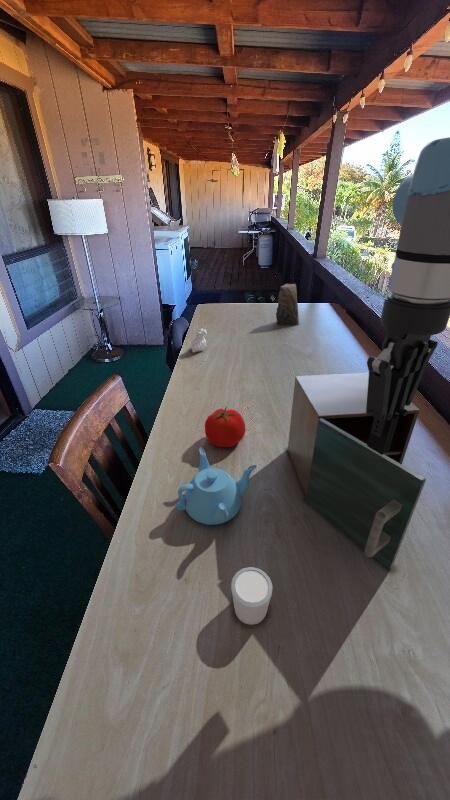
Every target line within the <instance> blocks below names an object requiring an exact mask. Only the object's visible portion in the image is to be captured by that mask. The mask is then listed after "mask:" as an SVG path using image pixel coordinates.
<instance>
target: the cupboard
mask: <svg viewBox="0 0 450 800" xmlns="http://www.w3.org/2000/svg"><path fill="white" fill-rule="evenodd" d="M368 379H369V371H368V372H351V373H350V372H349V373H331V374H311V375H310V374H309V375H295V377H294V385H293V394H292V404H291V415H290V422H289V433H288V442H287V451H288V454H289V457H290V459H291V463H292V465H293V467H294V469H295V472H296V475H297V477H298V479H299V482H300V485H301V487H302V490H303V493H304V495H305V498H306V497H307V491H308V484H309V478H310V471H311V465H312V458H313V452H314V445H315V439H316V433H317V426H318V420H319V419H321V418H322V419H324V420H326V421H328V422H329V423H331V424H333V425H334V426H336V427H338V428H340V429H341V430H343V431H345V432H346V433H348V434H350V435H352V436H353V437H355V438H357V439H358V440H360V441H362V442H364V443H365V444H368V440H369V436H370V432H371V428H372V424H373V420H374V416H372V415H370V414H368V413H366V406H367V393H368ZM404 409H405V410H408V411H409V412H408V414H407V415H406V416H403V415H401V414H398V415H399V418H398V421H397V425H396V428H395V432H394V435H393V438H392V442H391V445H390V448H389V451H388V452H385V454H384V455H386V456H388V457H389V458H391V459H393V460H395V461H396V462H398V463H400V464H401V465H403V462H404V459H405V457H406V452H407V451H408V447H409V444H410V441H411V438H412V436H413V433H414V432H413V431H414V428H415V425H416V423H417V419H418V416H419V413H420V412H421V411H420V408H419V407H418V406H416V405H415V403H413V402H411V404H410V405H409V406H406V405H405V407H404Z"/></svg>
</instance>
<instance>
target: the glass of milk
mask: <svg viewBox="0 0 450 800" xmlns="http://www.w3.org/2000/svg"><path fill="white" fill-rule="evenodd" d="M230 587H231V588H230V589H231V594H232V601H233V607H234V613H235V615H236V616H237V619H238V620H239V621H241V622H242V623H243V624H246V625H250V626H252V625H257V624H260V623H261V622H262V621H263V620H264V619H265V617H266V615H267V614H268V609H269V607H270V606H269V605H270V602H271V598H272V594H273V584H272V580H271V578H270V577H269V576H268V574H267V572H265V571H264V570H262V569H260V568H259V567H253V566H248V567H242V568H241V569H240V570H238V571H237V572H235V574H234V575H233V577H232V580H231V584H230Z"/></svg>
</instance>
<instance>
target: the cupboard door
mask: <svg viewBox="0 0 450 800" xmlns="http://www.w3.org/2000/svg"><path fill="white" fill-rule="evenodd" d="M426 482H427V478H425V477H424V476H422V475H420V474H419V473H417V472H415V471H414V470H412V469H411V468H408V467H407V466H405V465H403V464H402V465H401V464H400V463H398V462H396V461H395V460H393V459H391V458H389V457H388V456H386V455H384V454H383V455H381V454H380V453H378V452H376V451H375V450H373V449H371V448H369V447H368V446H367V444H365V443H364V442H362V441H360V440H358V439H357V438H355V437H353V436H352V435H350V434H348V433H346V432H345V431H343V430H341V429H340V428H338V427H336V426H334V425H333V424H331V423H329V422H328V421H326V420H324V419H322V418H321V419H319V420H318V426H317V433H316V439H315V445H314V452H313V458H312V465H311V471H310V478H309V484H308V491H307V497H306V496H305V501H306V502H307V503H308V504H309V505H310V506H311V507H312V508H314V509H315V510H316V511H318V512H319V513H320V514H321V515H322V516H324V517H325V518H326V519H327V520H329V521H330V522H331V523H332V524H333V525H334V526H335V527H337V528H338V529H339V530H340V531H341V532H343V533H344V534H345V535H346V536H348V537H349V538H350V539H351V540H353V542H355V543H356V544H357V545H359V546H360V547H361V548H362V549H363V550H364V552H363V554H364V555H365V556H366V557H368V558H374V559H375V560H377V561H378V562H379V563H380V564H382V565H383V566H384V567H385V568H386V569H388V570H390V571H391V569H392V568H393V567H394V564H395V561H396V558H397V556H398V554H399V551H400V548H401V546H402V543H403V541H404V538H405V536H406V533H407V531H408V529H409V525H410V523H411V520H412V518H413V514H414V512H415V509H416V507H417V504H418V502H419V500H420V497H421V494H422V492H423V489H424V486H425V484H426Z"/></svg>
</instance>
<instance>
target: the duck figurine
mask: <svg viewBox="0 0 450 800" xmlns="http://www.w3.org/2000/svg"><path fill="white" fill-rule="evenodd" d="M194 334H195V336H196V337H194V338H193V340H192V343H191V352H192V353H197V352H203V351H204V350H205V349H206V347H207V340H206V339H205V337H206V336H208V332H207V330H206V329H205V328H199V329H197V331H196V332H195V333H194Z"/></svg>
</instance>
